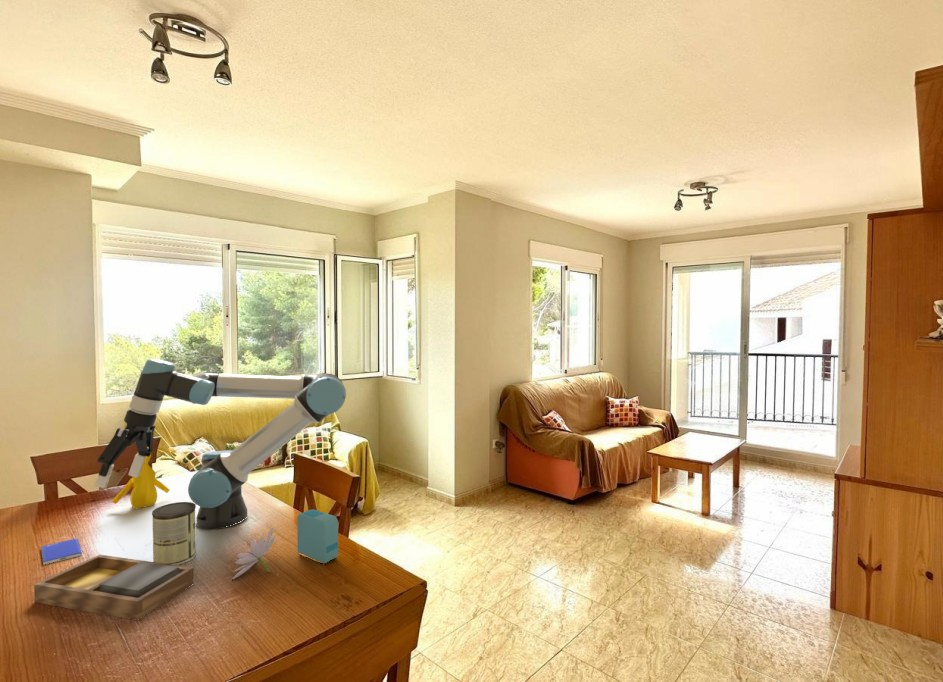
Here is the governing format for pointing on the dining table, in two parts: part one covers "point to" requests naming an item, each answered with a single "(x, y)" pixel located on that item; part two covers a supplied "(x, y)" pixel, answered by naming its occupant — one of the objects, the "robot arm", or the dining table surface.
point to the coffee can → (174, 533)
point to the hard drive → (61, 551)
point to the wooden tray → (114, 586)
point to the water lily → (254, 554)
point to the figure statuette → (142, 487)
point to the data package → (317, 535)
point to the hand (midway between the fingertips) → (117, 481)
